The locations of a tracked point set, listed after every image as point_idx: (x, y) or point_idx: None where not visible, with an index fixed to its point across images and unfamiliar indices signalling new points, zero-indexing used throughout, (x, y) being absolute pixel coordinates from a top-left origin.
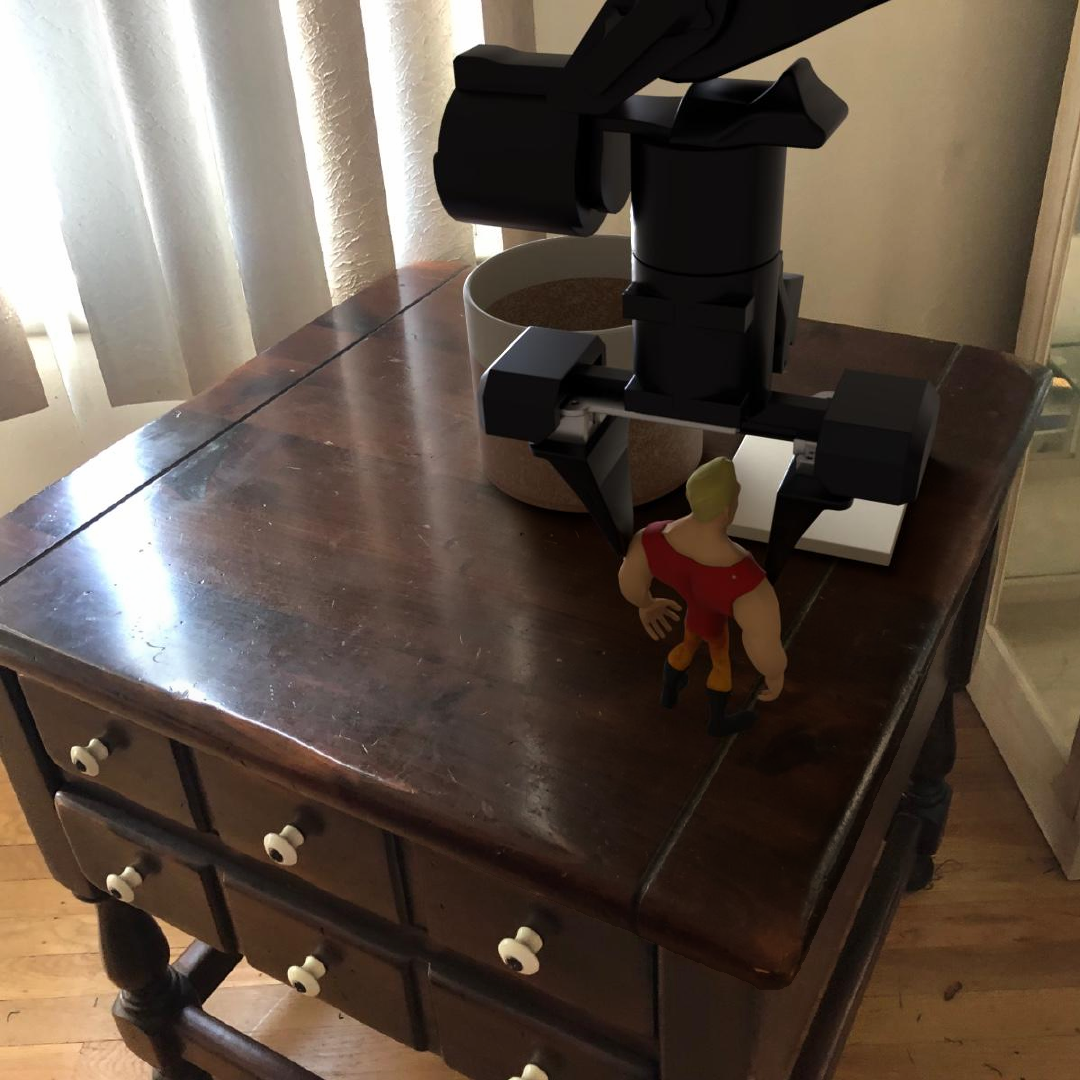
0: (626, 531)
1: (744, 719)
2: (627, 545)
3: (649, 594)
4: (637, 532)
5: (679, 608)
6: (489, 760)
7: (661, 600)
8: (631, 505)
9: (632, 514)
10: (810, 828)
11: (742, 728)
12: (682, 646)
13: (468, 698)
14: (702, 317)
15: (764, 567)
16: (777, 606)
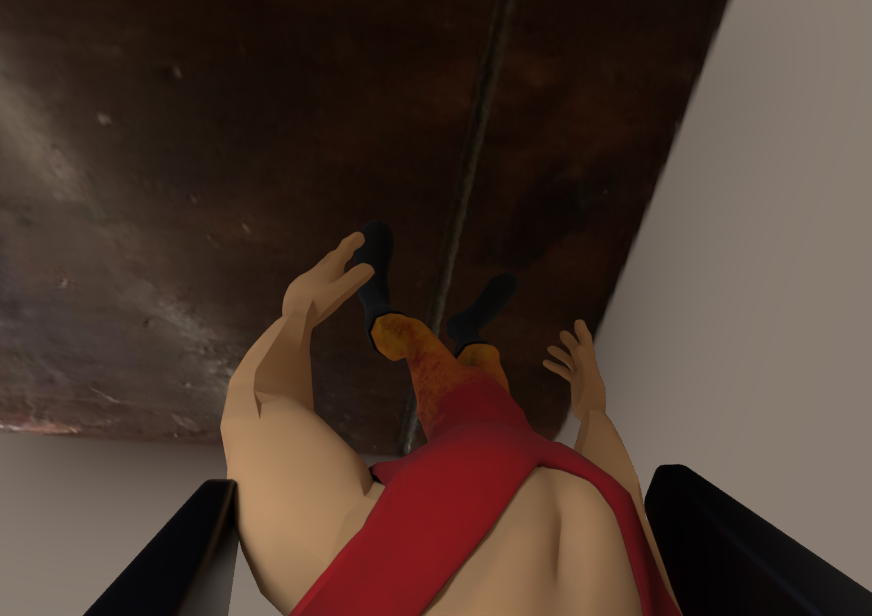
0: (221, 598)
1: (501, 303)
2: (233, 535)
3: (306, 352)
4: (251, 552)
5: (370, 277)
6: (137, 359)
7: (329, 304)
8: (185, 611)
9: (203, 576)
10: (572, 331)
11: (499, 312)
12: (402, 351)
13: (13, 261)
14: None
15: (680, 606)
16: None
